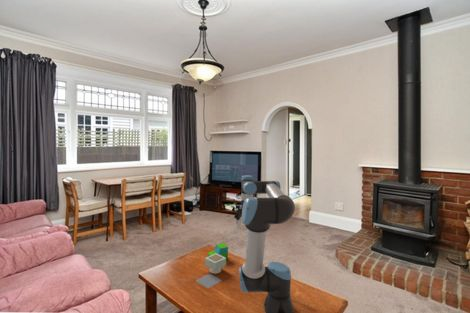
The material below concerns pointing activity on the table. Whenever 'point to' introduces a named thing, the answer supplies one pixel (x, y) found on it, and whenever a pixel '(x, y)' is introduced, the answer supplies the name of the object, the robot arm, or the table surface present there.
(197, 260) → the table surface
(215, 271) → the bowl
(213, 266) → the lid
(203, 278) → the mat
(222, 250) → the toy car
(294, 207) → the robot arm
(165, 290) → the table surface
